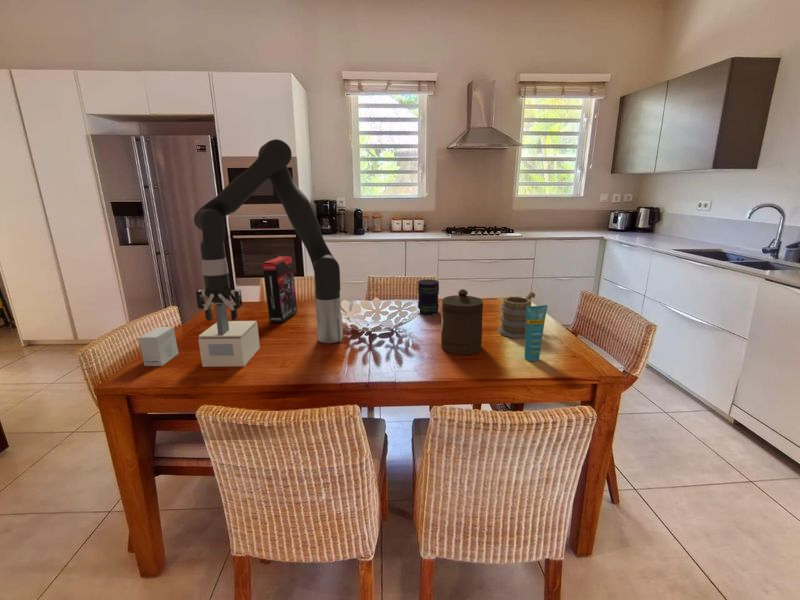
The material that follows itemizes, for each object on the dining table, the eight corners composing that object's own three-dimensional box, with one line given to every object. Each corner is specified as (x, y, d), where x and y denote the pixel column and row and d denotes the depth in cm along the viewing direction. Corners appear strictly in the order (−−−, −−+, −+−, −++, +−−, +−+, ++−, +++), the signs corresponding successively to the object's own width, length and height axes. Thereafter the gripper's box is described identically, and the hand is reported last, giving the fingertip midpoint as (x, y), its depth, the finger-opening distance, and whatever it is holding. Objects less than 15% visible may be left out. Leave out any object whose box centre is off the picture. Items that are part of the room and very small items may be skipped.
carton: (259, 347, 151) (257, 322, 148) (244, 366, 135) (240, 338, 132) (222, 348, 150) (218, 322, 148) (202, 366, 135) (198, 338, 132)
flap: (256, 322, 147) (253, 294, 144) (241, 337, 133) (237, 306, 130) (218, 322, 147) (214, 294, 144) (198, 337, 133) (194, 306, 130)
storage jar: (439, 315, 186) (440, 284, 182) (418, 315, 187) (418, 284, 182) (437, 309, 196) (438, 279, 192) (417, 309, 196) (417, 279, 192)
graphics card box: (282, 324, 177) (277, 262, 169) (267, 323, 178) (261, 262, 170) (297, 312, 193) (293, 256, 185) (284, 311, 194) (279, 255, 186)
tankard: (519, 340, 156) (522, 303, 151) (492, 332, 165) (494, 297, 161) (546, 329, 168) (550, 294, 164) (520, 321, 177) (522, 288, 173)
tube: (525, 362, 136) (530, 308, 131) (518, 356, 141) (522, 304, 136) (545, 360, 138) (550, 306, 133) (537, 354, 143) (542, 302, 137)
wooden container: (457, 337, 160) (459, 283, 154) (489, 347, 150) (492, 289, 144) (432, 347, 150) (433, 290, 144) (465, 358, 140) (467, 297, 134)
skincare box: (161, 353, 146) (156, 326, 143) (179, 354, 146) (174, 326, 143) (143, 366, 136) (137, 337, 133) (161, 366, 136) (156, 337, 133)
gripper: (242, 269, 134) (247, 316, 138) (199, 270, 134) (205, 317, 138) (233, 274, 127) (239, 324, 131) (187, 274, 127) (195, 324, 131)
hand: (222, 320), depth 135 cm, fingers open, 7 cm apart
